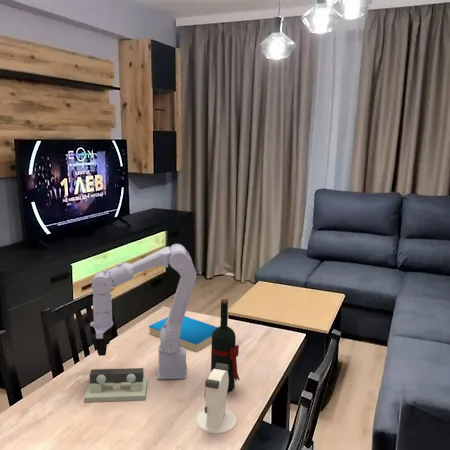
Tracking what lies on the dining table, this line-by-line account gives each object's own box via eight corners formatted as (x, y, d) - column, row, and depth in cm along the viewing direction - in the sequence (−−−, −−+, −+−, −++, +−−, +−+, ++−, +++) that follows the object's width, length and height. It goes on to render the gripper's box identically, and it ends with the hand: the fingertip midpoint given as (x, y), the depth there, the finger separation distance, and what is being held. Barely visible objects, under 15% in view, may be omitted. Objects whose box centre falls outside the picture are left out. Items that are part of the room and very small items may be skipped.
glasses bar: (143, 376, 141) (143, 368, 141) (142, 382, 138) (142, 374, 137) (91, 378, 140) (91, 369, 139) (89, 384, 136) (89, 375, 136)
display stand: (147, 382, 146) (147, 370, 145) (145, 400, 136) (144, 388, 135) (90, 383, 144) (90, 372, 143) (84, 402, 134) (83, 390, 133)
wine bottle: (229, 399, 137) (232, 307, 131) (205, 387, 144) (206, 298, 137) (245, 388, 143) (248, 300, 137) (221, 377, 149) (223, 292, 143)
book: (196, 343, 165) (148, 325, 179) (196, 354, 166) (148, 335, 180) (223, 328, 179) (176, 311, 193) (223, 338, 180) (176, 321, 194)
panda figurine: (204, 404, 134) (205, 358, 131) (241, 411, 132) (242, 364, 128) (190, 429, 123) (191, 379, 120) (230, 437, 120) (231, 387, 117)
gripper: (94, 301, 149) (95, 339, 152) (85, 319, 135) (86, 360, 138) (115, 301, 150) (116, 338, 152) (108, 319, 136) (110, 360, 138)
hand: (104, 349), depth 145 cm, fingers open, 7 cm apart
